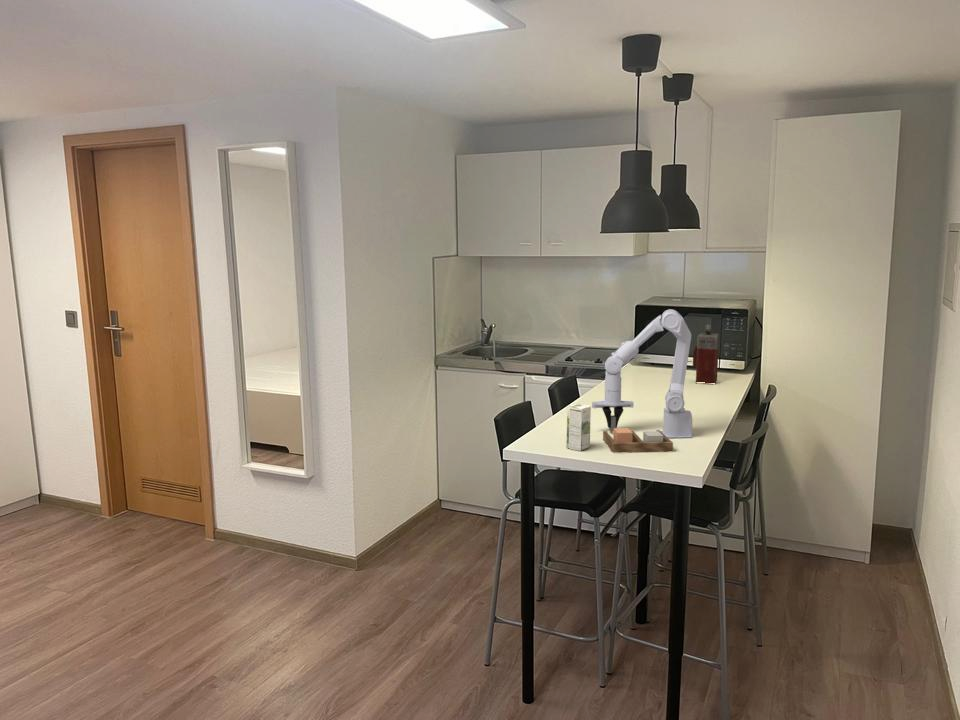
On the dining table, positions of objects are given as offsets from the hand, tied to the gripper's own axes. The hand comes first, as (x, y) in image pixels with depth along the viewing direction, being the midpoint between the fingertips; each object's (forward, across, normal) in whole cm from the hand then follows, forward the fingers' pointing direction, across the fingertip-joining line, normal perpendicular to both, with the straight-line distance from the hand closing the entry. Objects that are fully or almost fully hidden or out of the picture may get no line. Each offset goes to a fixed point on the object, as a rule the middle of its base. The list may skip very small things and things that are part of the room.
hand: (612, 427), depth 262 cm
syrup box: (+2, +16, +19) cm, 25 cm away
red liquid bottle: (+2, -64, -90) cm, 111 cm away
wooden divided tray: (+2, -5, +18) cm, 18 cm away
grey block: (+2, -9, +20) cm, 23 cm away
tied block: (+2, 0, +9) cm, 9 cm away
